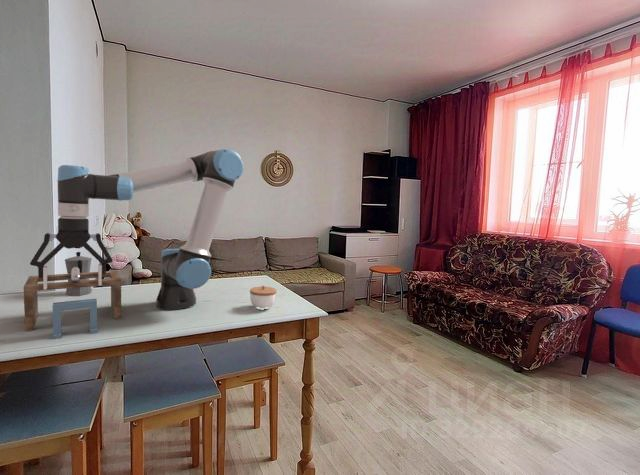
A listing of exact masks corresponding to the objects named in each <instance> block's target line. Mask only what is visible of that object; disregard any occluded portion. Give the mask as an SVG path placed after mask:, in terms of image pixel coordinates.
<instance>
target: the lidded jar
mask: <svg viewBox="0 0 640 475" xmlns="http://www.w3.org/2000/svg"><path fill="white" fill-rule="evenodd" d="M249 292H250V293H249V294H250V296H249V298H250V302H251V305H252V306H253V307H254V306H255V307H260V308H265V307H270V306H271V307H272V306H273V305H274V304H275V302H276V298H277V297H276V296H277V289H276V288H274V287H271V286H266V285H262V286H254V287H251V288H250V290H249ZM255 307H254V308H255ZM271 307H270V308H271Z"/></svg>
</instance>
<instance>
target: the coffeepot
mask: <svg viewBox="0 0 640 475" xmlns="http://www.w3.org/2000/svg"><path fill="white" fill-rule="evenodd" d="M81 253H82V252H80V251H77V252H75V254H76V256H72V257H67V258H66V259H64V263H65V267H66V274H71V271H72V268H74V267H78V268H79V269H80V273H88V272H90V271H91V264H92V257H87V256H83V255H82V256H81ZM83 280H90V278H87V279H80V281H83ZM70 281H71V280H67V282H70ZM92 292H93V289H92V287H80V288H67V289H66V290H65V295H66V296H69V297H70V296H71V297H75V296H76V297H77V296H78V297H80V296H86V295H90V294H91V293H92Z"/></svg>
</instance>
